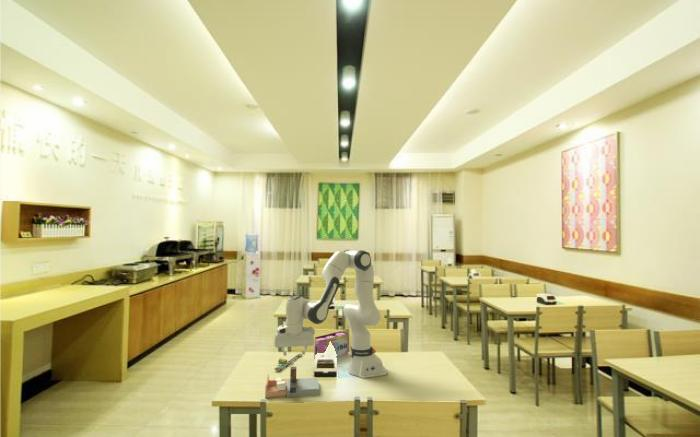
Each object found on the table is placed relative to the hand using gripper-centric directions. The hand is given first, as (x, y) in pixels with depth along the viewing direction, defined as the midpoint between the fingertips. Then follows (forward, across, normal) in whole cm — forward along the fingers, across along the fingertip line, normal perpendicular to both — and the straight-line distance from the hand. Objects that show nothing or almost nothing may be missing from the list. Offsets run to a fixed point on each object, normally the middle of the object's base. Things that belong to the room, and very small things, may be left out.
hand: (294, 354), depth 176 cm
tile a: (+15, +6, -3) cm, 17 cm away
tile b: (+15, +6, +4) cm, 17 cm away
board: (+18, -4, 0) cm, 19 cm away
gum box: (+19, -24, -45) cm, 54 cm away
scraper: (+15, +1, +1) cm, 15 cm away
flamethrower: (+19, +4, -37) cm, 41 cm away
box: (+18, +9, 0) cm, 20 cm away
